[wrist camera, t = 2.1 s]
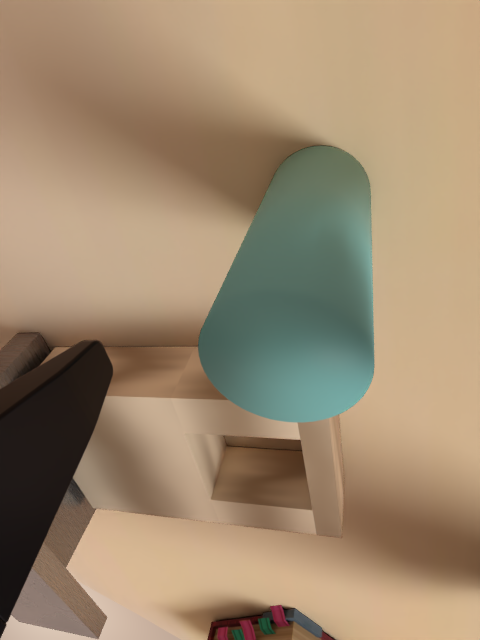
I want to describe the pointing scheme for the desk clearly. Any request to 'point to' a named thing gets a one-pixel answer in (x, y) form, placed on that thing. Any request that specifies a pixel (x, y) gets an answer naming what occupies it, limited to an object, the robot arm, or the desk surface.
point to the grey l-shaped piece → (53, 531)
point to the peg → (299, 296)
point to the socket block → (204, 452)
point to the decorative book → (269, 627)
